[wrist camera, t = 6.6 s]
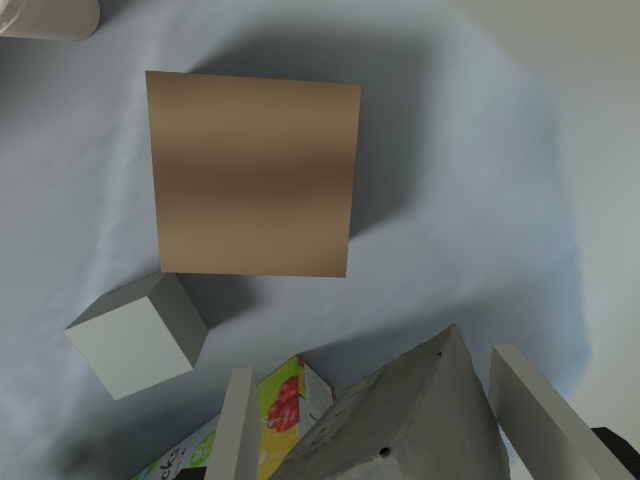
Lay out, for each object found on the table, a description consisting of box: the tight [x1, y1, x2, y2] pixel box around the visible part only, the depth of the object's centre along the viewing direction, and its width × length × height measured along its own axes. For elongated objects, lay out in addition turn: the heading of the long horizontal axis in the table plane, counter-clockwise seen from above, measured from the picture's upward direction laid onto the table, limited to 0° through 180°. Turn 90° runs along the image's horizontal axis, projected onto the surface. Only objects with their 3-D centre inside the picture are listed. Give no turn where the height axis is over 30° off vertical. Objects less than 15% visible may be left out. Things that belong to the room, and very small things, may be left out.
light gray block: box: [64, 271, 209, 400], centre depth 28 cm, size 6×6×5 cm
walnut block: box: [145, 70, 362, 278], centre depth 25 cm, size 11×11×6 cm
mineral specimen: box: [266, 323, 511, 480], centre depth 11 cm, size 7×9×8 cm
